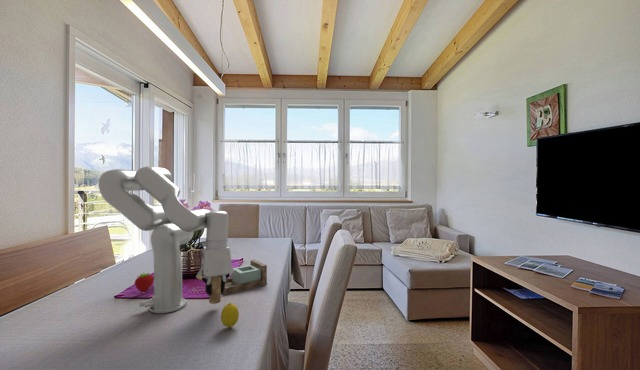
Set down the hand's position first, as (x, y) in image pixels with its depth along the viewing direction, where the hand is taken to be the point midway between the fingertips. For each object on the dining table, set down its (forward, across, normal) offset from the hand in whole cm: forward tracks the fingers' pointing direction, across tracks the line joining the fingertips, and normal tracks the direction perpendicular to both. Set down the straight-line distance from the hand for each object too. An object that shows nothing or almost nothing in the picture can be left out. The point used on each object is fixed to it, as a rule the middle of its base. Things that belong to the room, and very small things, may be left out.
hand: (215, 292), depth 110 cm
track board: (+6, +18, +18) cm, 26 cm away
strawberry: (+8, -18, +35) cm, 40 cm away
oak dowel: (+3, 0, 0) cm, 3 cm away
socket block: (+5, +21, +18) cm, 28 cm away
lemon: (+6, -1, -18) cm, 19 cm away
